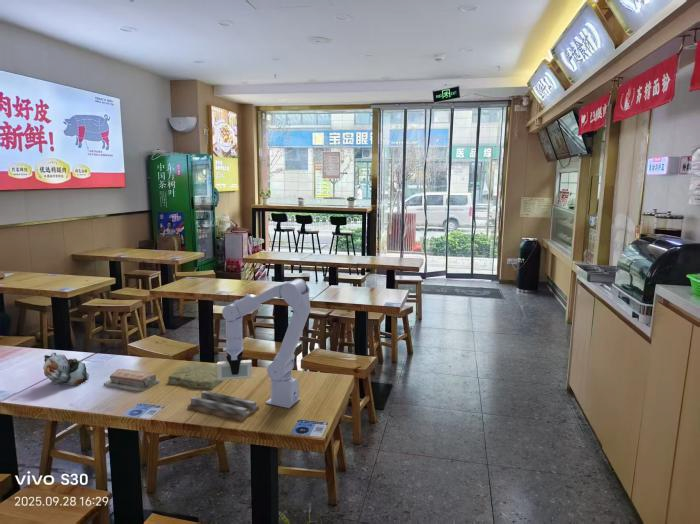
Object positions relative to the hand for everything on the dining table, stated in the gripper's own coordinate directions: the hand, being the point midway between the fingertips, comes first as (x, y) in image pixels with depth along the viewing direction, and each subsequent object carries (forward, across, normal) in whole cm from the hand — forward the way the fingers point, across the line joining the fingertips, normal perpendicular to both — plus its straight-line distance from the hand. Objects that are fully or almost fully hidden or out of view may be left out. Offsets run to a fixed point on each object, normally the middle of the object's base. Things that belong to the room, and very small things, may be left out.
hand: (235, 372), depth 171 cm
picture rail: (+8, +11, -4) cm, 14 cm away
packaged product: (+9, -17, -39) cm, 44 cm away
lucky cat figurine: (+8, -23, -63) cm, 68 cm away
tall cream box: (+2, 0, 0) cm, 2 cm away
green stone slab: (+9, -18, -14) cm, 25 cm away
